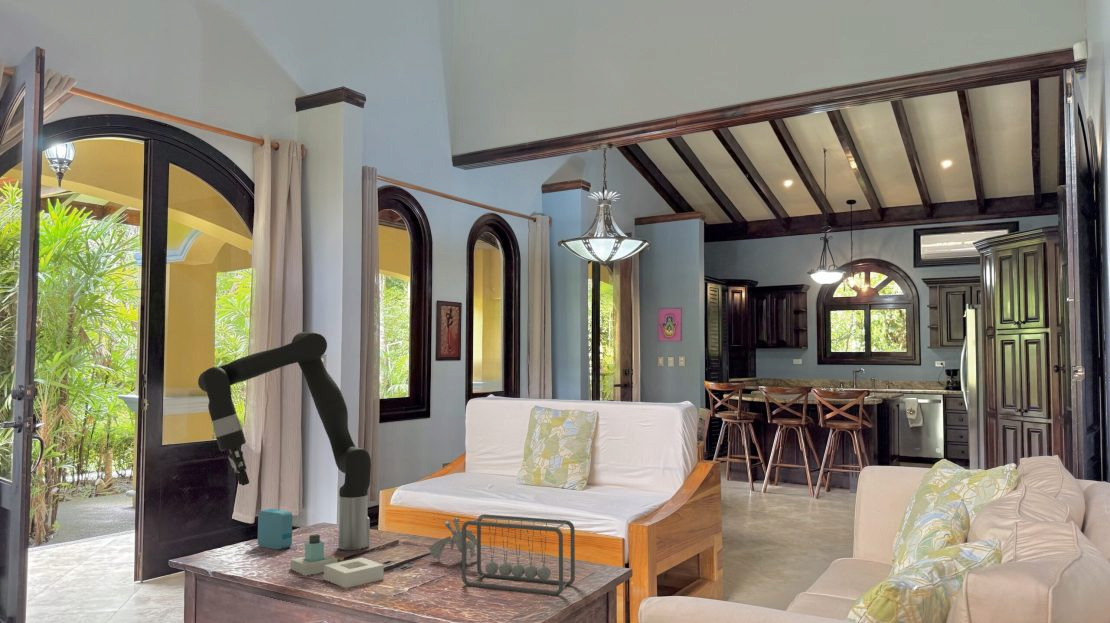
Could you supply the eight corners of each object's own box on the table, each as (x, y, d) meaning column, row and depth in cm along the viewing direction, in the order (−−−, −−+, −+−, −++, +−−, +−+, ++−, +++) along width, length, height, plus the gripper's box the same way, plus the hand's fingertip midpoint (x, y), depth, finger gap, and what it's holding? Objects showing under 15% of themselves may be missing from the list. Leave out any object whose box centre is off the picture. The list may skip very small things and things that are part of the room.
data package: (292, 547, 254) (292, 511, 255) (281, 550, 250) (281, 513, 251) (268, 543, 260) (268, 508, 261) (257, 546, 256) (257, 510, 257)
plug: (317, 566, 229) (317, 533, 230) (323, 569, 226) (324, 535, 227) (304, 569, 227) (305, 535, 227) (311, 572, 224) (311, 537, 224)
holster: (321, 563, 234) (321, 553, 234) (337, 569, 226) (337, 559, 227) (290, 569, 227) (290, 559, 227) (306, 576, 219) (306, 565, 220)
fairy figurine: (483, 559, 227) (462, 518, 226) (437, 577, 233) (416, 537, 233) (496, 544, 236) (475, 505, 235) (450, 561, 242) (431, 523, 242)
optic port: (361, 571, 224) (361, 557, 225) (383, 579, 216) (383, 564, 216) (324, 579, 216) (324, 565, 216) (345, 588, 207) (345, 573, 208)
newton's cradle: (461, 585, 210) (461, 520, 211) (478, 575, 219) (478, 513, 221) (562, 596, 199) (561, 528, 200) (575, 585, 209) (575, 520, 210)
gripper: (243, 427, 222) (259, 480, 222) (239, 428, 235) (254, 478, 234) (217, 436, 219) (233, 489, 218) (214, 436, 231) (229, 487, 231)
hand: (244, 484), depth 226 cm, fingers open, 8 cm apart
